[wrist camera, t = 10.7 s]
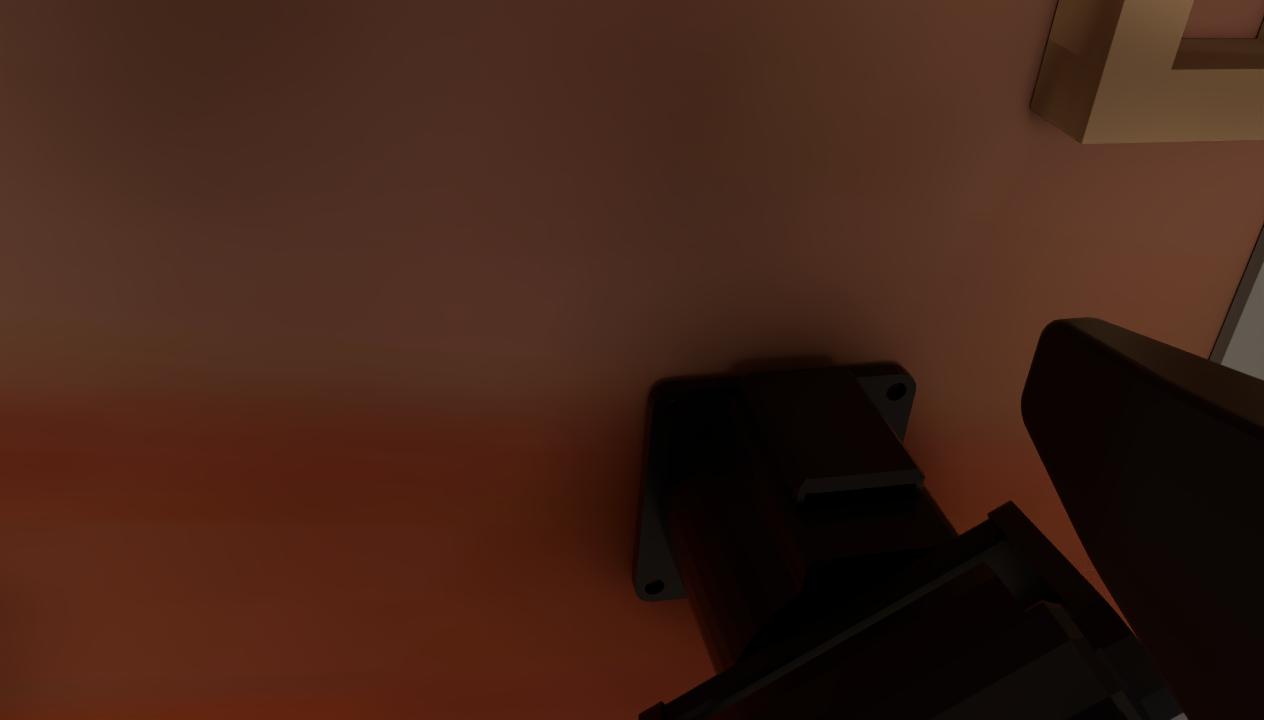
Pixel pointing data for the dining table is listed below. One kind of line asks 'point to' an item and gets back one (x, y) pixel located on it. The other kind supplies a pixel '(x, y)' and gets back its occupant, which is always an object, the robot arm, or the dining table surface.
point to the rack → (1147, 76)
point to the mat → (1245, 322)
